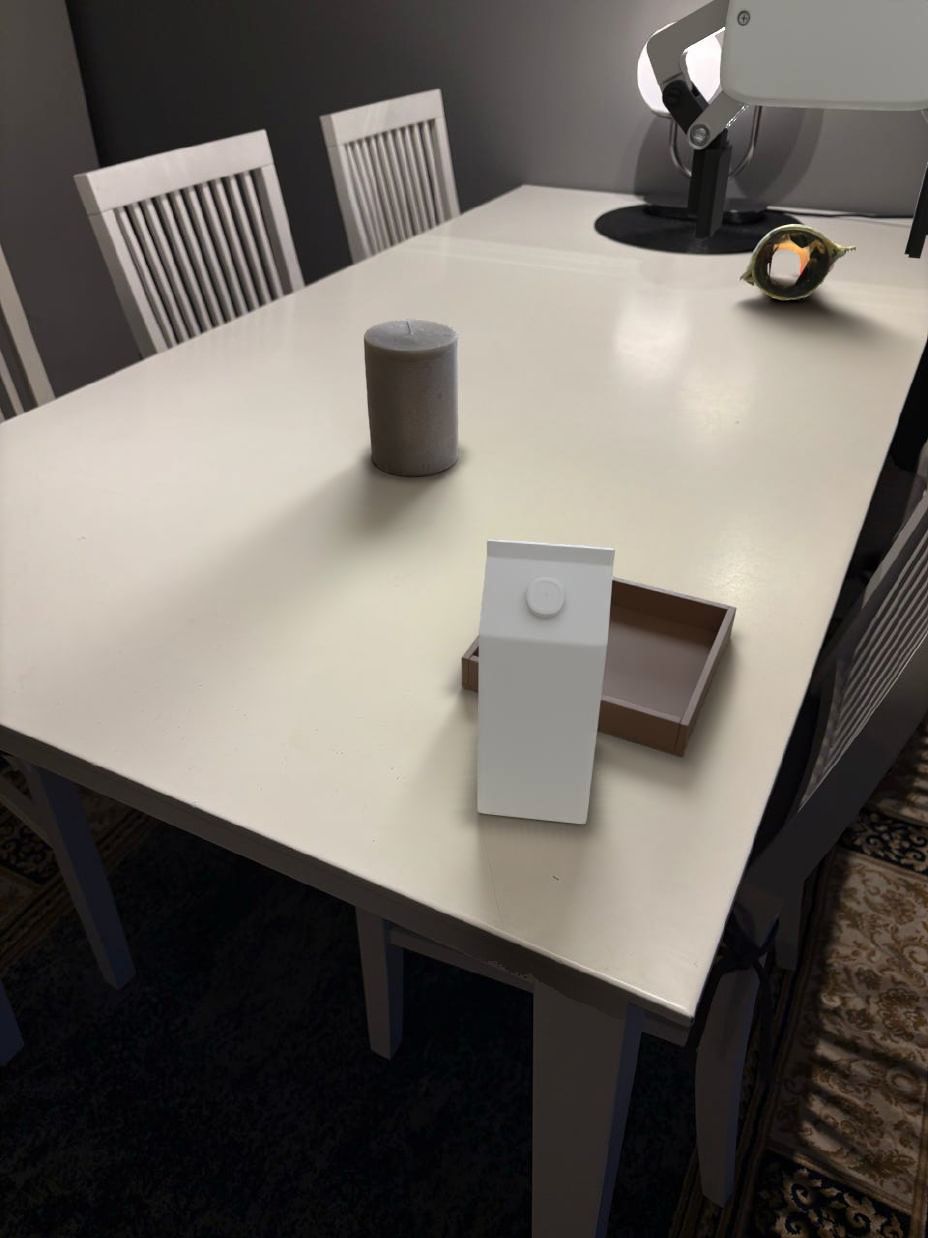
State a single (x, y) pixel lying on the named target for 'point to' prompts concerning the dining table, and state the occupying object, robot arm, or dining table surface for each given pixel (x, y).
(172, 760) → the dining table surface
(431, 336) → the pillar candle
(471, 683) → the tray
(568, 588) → the milk carton
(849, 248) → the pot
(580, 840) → the dining table surface
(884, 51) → the robot arm
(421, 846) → the dining table surface
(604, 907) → the dining table surface
